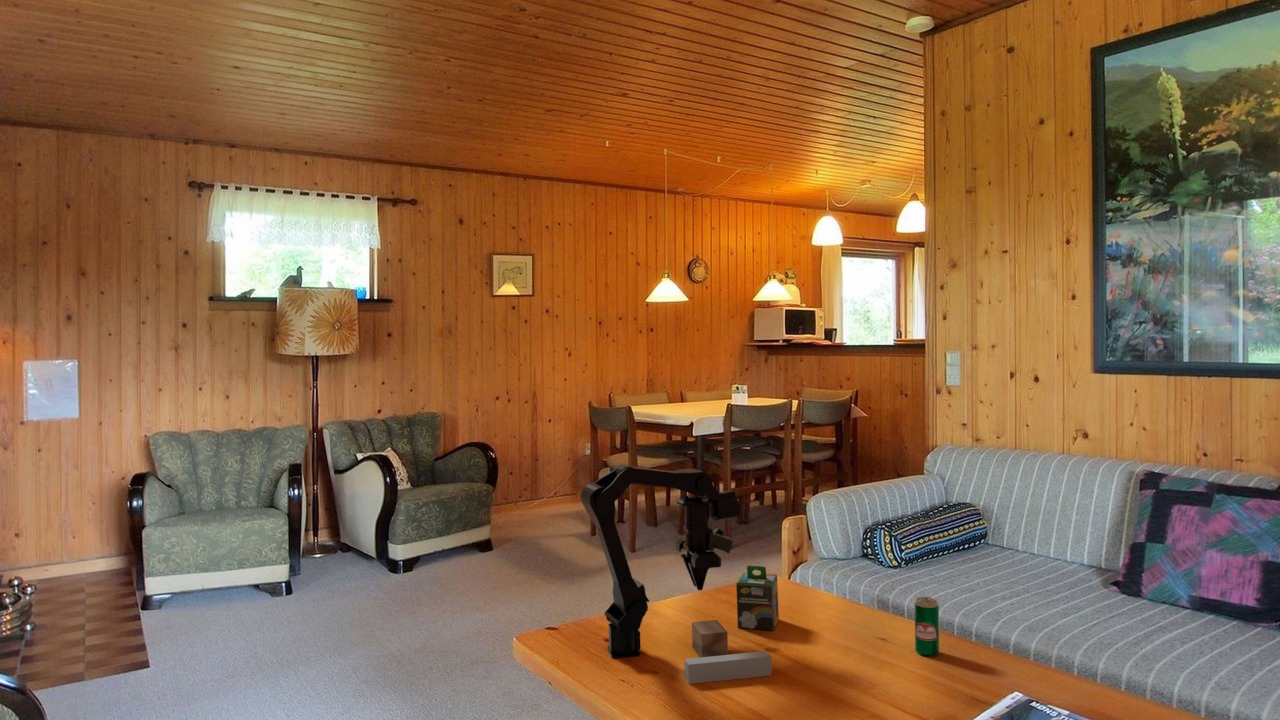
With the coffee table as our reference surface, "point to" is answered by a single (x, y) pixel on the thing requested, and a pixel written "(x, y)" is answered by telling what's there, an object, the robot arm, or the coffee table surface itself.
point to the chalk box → (757, 599)
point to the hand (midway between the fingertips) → (698, 588)
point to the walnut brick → (709, 638)
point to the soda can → (927, 626)
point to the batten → (727, 667)
